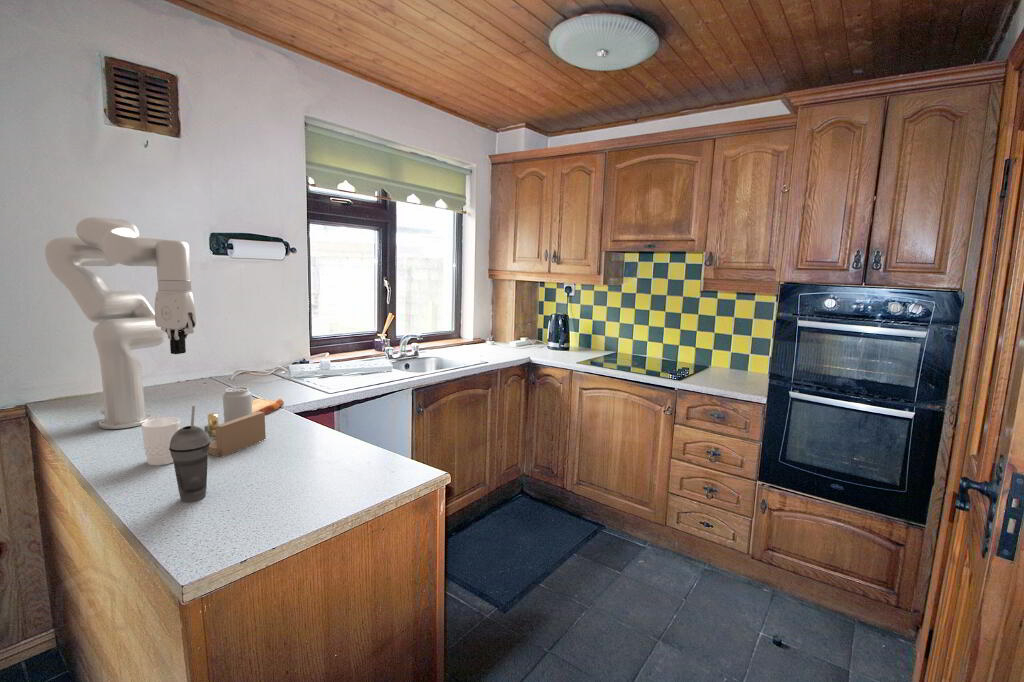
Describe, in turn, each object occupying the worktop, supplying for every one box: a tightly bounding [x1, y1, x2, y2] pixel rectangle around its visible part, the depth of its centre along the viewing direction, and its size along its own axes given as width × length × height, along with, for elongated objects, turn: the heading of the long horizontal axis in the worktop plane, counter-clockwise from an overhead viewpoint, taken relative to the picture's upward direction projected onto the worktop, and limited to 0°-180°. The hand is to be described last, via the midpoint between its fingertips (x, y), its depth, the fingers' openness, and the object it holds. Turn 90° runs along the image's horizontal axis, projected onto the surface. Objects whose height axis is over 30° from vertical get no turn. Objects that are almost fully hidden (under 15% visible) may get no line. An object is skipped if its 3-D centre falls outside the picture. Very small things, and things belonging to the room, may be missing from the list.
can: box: [222, 386, 253, 423], centre depth 148 cm, size 8×8×12 cm
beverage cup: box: [169, 405, 210, 503], centre depth 104 cm, size 7×7×20 cm
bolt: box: [207, 412, 219, 436], centre depth 135 cm, size 9×2×6 cm, turn 72°
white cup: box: [140, 416, 182, 466], centre depth 123 cm, size 8×8×10 cm
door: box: [181, 411, 267, 457], centre depth 137 cm, size 26×14×8 cm, turn 72°
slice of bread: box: [252, 398, 285, 416], centre depth 165 cm, size 18×18×4 cm
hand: (178, 353), depth 137 cm, fingers closed
